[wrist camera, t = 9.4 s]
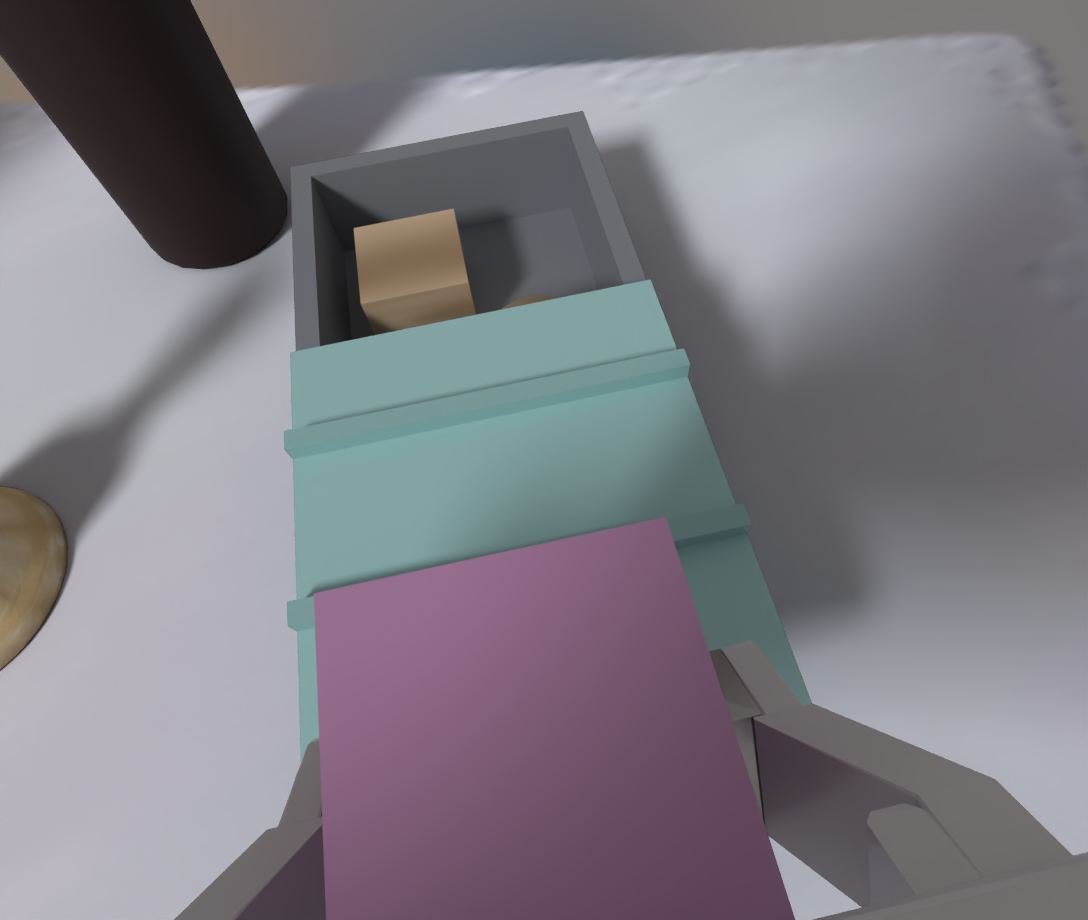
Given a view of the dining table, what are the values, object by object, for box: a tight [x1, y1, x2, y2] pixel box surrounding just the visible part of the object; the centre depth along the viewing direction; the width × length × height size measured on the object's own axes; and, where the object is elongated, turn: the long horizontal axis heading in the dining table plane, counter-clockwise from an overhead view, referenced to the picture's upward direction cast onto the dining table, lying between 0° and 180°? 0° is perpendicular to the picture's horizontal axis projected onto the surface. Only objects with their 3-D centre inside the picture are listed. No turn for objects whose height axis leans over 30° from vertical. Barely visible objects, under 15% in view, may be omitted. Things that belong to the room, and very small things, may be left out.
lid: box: [284, 279, 812, 920], centre depth 13 cm, size 15×12×11 cm
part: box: [354, 209, 477, 335], centre depth 26 cm, size 4×4×3 cm
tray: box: [290, 111, 646, 351], centre depth 25 cm, size 16×12×5 cm
